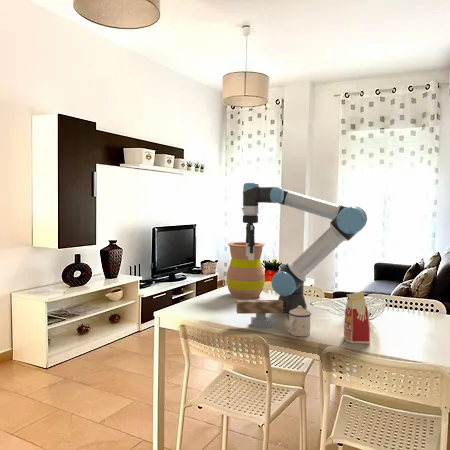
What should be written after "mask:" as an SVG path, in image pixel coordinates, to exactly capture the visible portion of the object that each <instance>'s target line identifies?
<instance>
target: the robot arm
mask: <svg viewBox="0 0 450 450" xmlns="http://www.w3.org/2000/svg"><path fill="white" fill-rule="evenodd" d="M259 185H260V184H259V182H245V183H244V184H243V185H242V187H243V188H242V207H241V211H242V223H243V224H246V226H245V242H246V256H248V260H254V246H255V242H256V241H255V229H256V228H255V225H254V224H258V223H259V215H258V214H259V204H260V203H261V204H262V203H264V204H265V203H266V204H267V203H268V204H269V203H270V204H279V205H282V206H286V207H290V208H292V209H297V210H299V211H302V212H306V213H308V214H312V215H315V216H319V217H321V218H324V219H327V220H331V221H330V222H329V227H328V228H327V229H326V230H325V231H324V232H323V233H322V234H321V235H320V236H319V237H318V238H317V239H316V240H315V241H314V242H313V243H312V244H311V245H309V247H308V248H307V249H306V250H304V251H303V252H302V253H301V254H300V255H299V256H297V258H296V259H294V261H290V262H289V261H288V262H287V263H281V265H280V270H278V271H277V272H276V273H274V274H273V276H272V279H271V288H272V289H273V292H274V293H276V294H277V295H278V296H279V297H278V299H277V300H282V301H283V313H288V314H289V311H290V310H293V309H295V308H298V306H299V305H300V306H302V308H304V309H305V310H308V309H307V308H308V305H307V302H306V299H305V295H304V289H305V288H304V287H305V286H304V284H305V282H306V281H307V276H308V274H310V273H311V272H312V271H313V270H314V269H315V268H316V267H317V266H319V264H320V263H322V262H323V261H324V260H325V258H326V257H328V256H330V254H331V253H332V252H333V251H334V250H336V249H337V248H338V246H340V244H342V243H343V242H344V241H345V242H346V241H348V242H349V241H350V240H351V239H352V238H353V237H355V236H356V234H357V233H359V232H360V231H362V230H363V228H364V227H366V224H367V222H368V216H367V213H366V211H365V210H364V209H363V208H361V207H359V206H355V205H353V206H352V205H347V204H343V203H340V204H336V203H332V202H329V201H327V200H321V199H319V198H315V197H312V196H307V195H306V194H305V195H304V194H301V193H299V192H295V191H292V190H287V189H284V188H282V187H279V186H264V187H263V186H259Z"/></svg>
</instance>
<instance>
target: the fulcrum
mask: <svg viewBox="0 0 450 450" xmlns="http://www.w3.org/2000/svg"><path fill="white" fill-rule="evenodd" d="M266 314H267V313H260V314H255V316H251V317H250V326H251V329H255V328H258V329H260V328H263V329H266V328H267V329H270V328H271V326H272V325H271V319H270V317H269V316H266Z"/></svg>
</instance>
